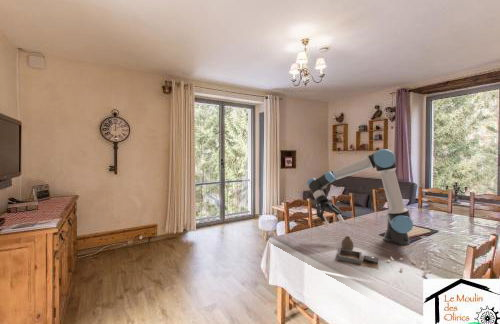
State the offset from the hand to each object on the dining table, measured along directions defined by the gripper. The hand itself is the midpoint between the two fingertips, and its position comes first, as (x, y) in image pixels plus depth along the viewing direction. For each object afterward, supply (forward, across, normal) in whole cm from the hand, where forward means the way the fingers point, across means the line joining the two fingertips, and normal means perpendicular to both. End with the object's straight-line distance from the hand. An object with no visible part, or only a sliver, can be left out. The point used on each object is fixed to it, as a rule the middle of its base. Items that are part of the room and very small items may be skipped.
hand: (335, 224), depth 158 cm
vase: (+17, 0, -3) cm, 17 cm away
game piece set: (+38, -12, +18) cm, 43 cm away
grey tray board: (+26, +7, +8) cm, 27 cm away
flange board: (+26, +6, +7) cm, 28 cm away
